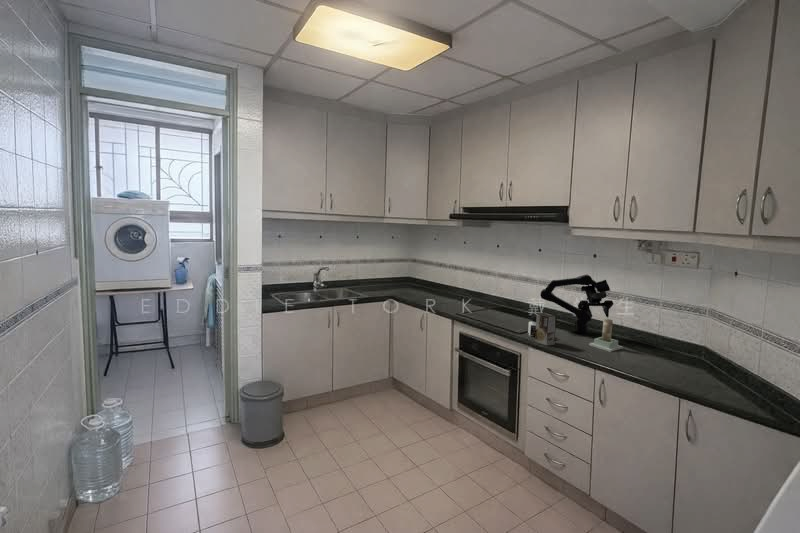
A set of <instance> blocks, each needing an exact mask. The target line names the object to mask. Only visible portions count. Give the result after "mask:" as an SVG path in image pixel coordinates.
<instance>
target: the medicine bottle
mask: <svg viewBox="0 0 800 533" xmlns="http://www.w3.org/2000/svg"><path fill="white" fill-rule="evenodd" d="M536 318H537V314H532V315H531V316H530V321H528V329H527V330H528V331H527V334H528V333H529V334H528V336H529V337H531V336H535V335H536Z"/></svg>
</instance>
